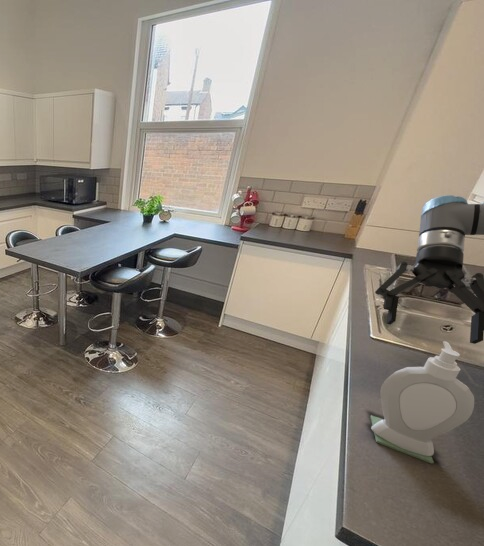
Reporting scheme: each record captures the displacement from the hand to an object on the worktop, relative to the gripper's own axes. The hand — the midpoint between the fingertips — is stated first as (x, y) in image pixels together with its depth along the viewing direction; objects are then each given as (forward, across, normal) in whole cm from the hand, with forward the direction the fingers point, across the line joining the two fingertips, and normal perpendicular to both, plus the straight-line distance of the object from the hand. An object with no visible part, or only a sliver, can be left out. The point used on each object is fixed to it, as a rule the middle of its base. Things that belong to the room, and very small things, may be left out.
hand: (431, 331), depth 70 cm
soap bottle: (+24, 0, +9) cm, 25 cm away
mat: (+24, 0, +9) cm, 26 cm away
